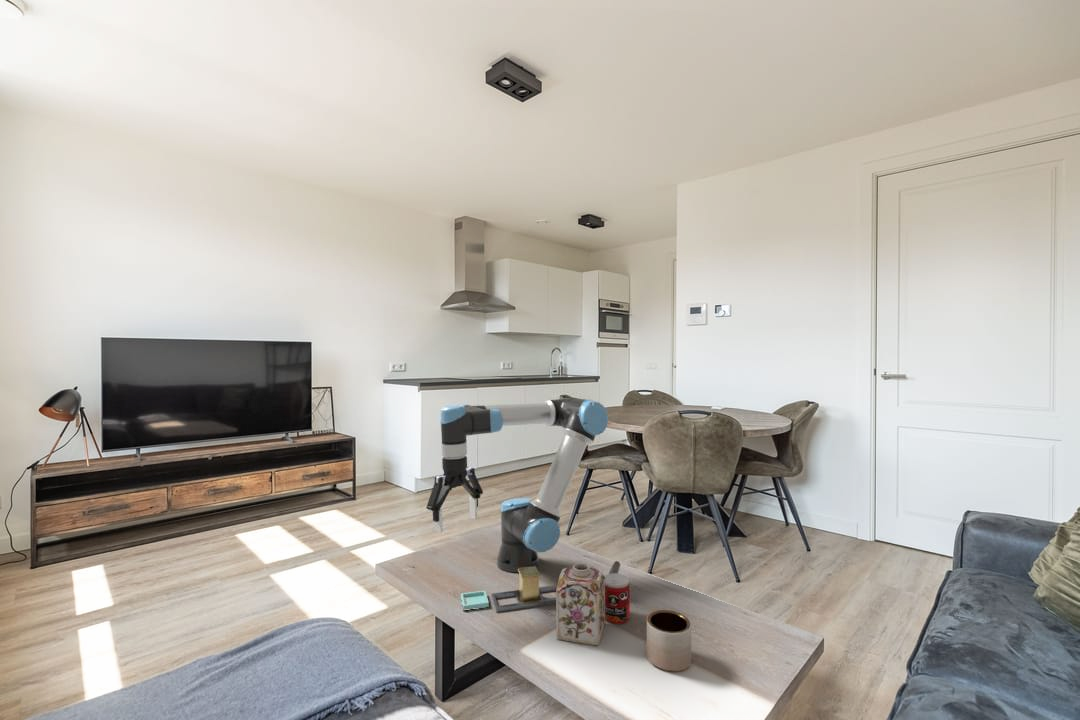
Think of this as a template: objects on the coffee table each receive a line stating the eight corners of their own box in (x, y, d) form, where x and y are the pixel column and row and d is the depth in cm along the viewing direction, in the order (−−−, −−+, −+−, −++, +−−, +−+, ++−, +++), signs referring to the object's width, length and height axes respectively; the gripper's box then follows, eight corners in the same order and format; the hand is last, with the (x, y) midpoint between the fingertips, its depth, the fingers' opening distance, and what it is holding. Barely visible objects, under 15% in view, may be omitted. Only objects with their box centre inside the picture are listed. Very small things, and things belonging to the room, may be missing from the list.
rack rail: (558, 588, 157) (558, 584, 157) (567, 602, 148) (567, 598, 148) (491, 597, 151) (491, 593, 151) (496, 612, 143) (496, 608, 143)
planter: (664, 678, 114) (664, 638, 113) (637, 652, 124) (637, 614, 123) (701, 666, 118) (701, 627, 118) (672, 641, 128) (672, 605, 128)
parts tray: (485, 595, 153) (485, 590, 153) (488, 607, 145) (488, 602, 145) (460, 598, 151) (460, 593, 151) (463, 611, 143) (463, 606, 143)
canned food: (599, 621, 137) (599, 583, 137) (605, 607, 145) (605, 571, 145) (626, 626, 135) (626, 587, 135) (631, 612, 142) (631, 575, 142)
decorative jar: (606, 622, 137) (605, 559, 137) (599, 647, 126) (599, 578, 125) (564, 616, 140) (564, 555, 140) (555, 640, 129) (554, 573, 129)
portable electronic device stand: (599, 584, 160) (599, 558, 160) (623, 587, 158) (623, 561, 157) (595, 597, 151) (595, 570, 151) (620, 600, 149) (620, 573, 149)
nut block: (535, 594, 153) (535, 566, 153) (540, 603, 148) (539, 573, 148) (518, 596, 152) (518, 568, 152) (522, 605, 146) (521, 576, 146)
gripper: (476, 447, 161) (478, 510, 162) (412, 462, 142) (415, 534, 143) (492, 450, 156) (494, 515, 157) (428, 466, 137) (431, 540, 138)
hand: (456, 524), depth 150 cm, fingers open, 13 cm apart
